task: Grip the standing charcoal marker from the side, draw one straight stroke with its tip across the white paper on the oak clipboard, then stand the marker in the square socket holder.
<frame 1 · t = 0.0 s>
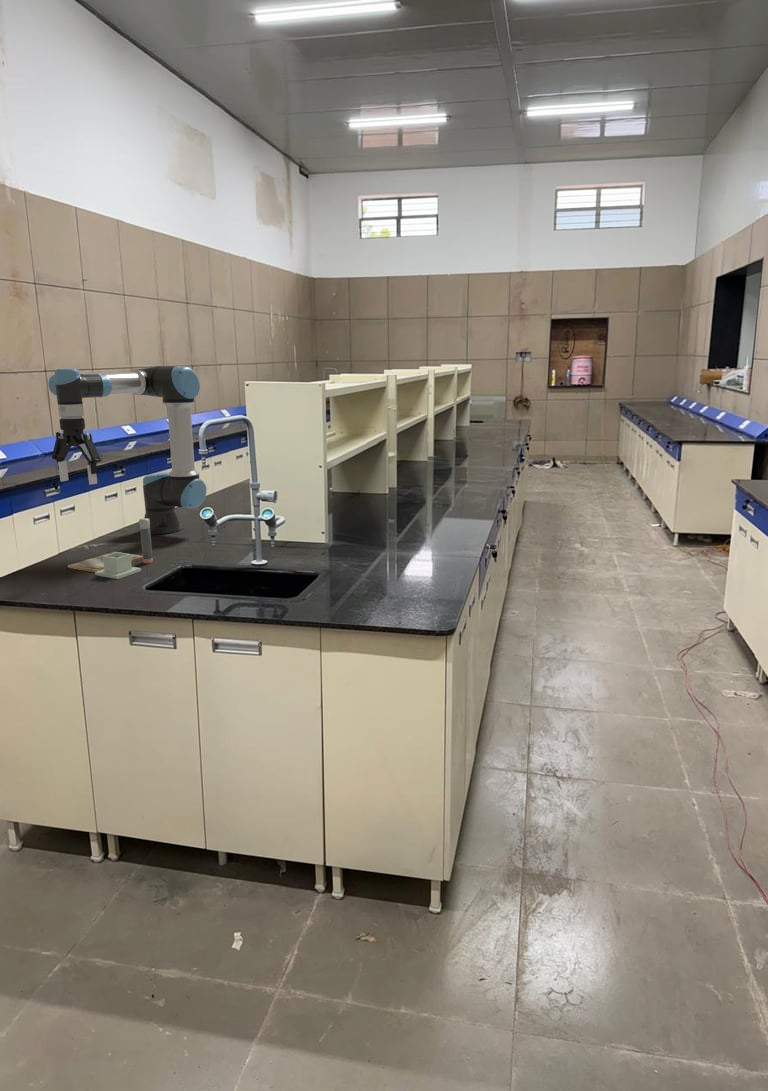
hand: (78, 482, 243), 28 cm above the counter, fingers open, 13 cm apart
marker: (147, 562, 251), on the counter
square socket holder: (118, 573, 239), on the counter
clipboard: (106, 562, 250), on the counter
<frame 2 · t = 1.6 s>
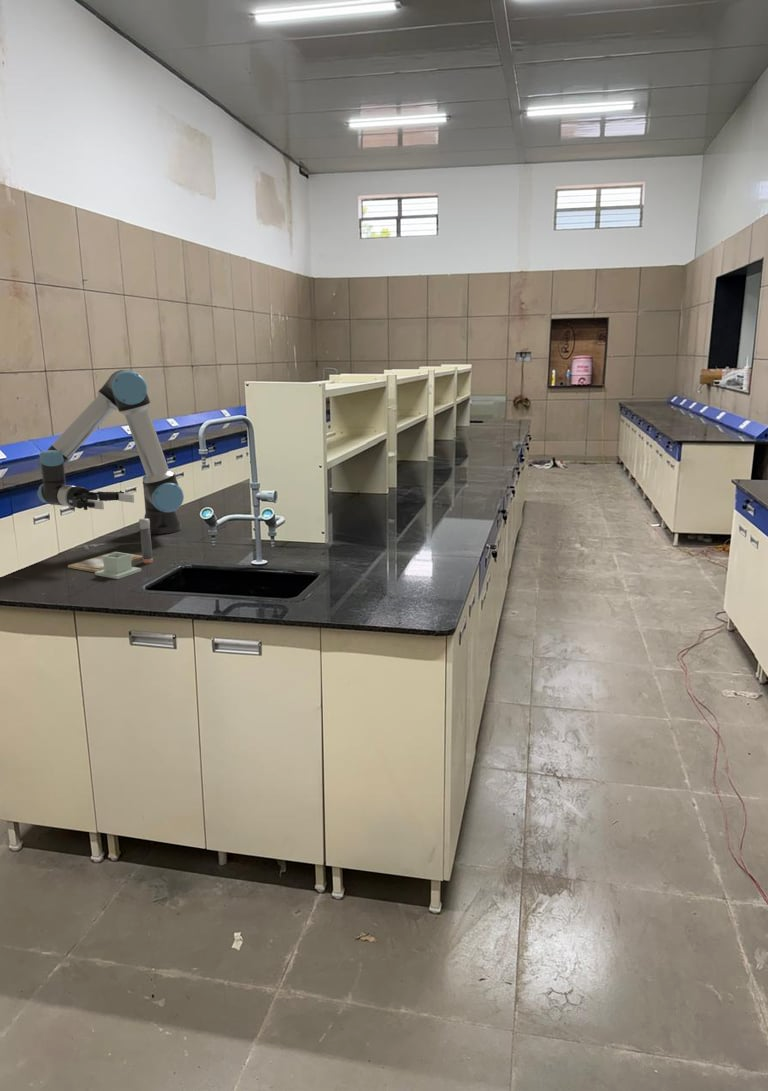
hand: (118, 501, 251), 20 cm above the counter, fingers open, 13 cm apart
nothing on the counter moved.
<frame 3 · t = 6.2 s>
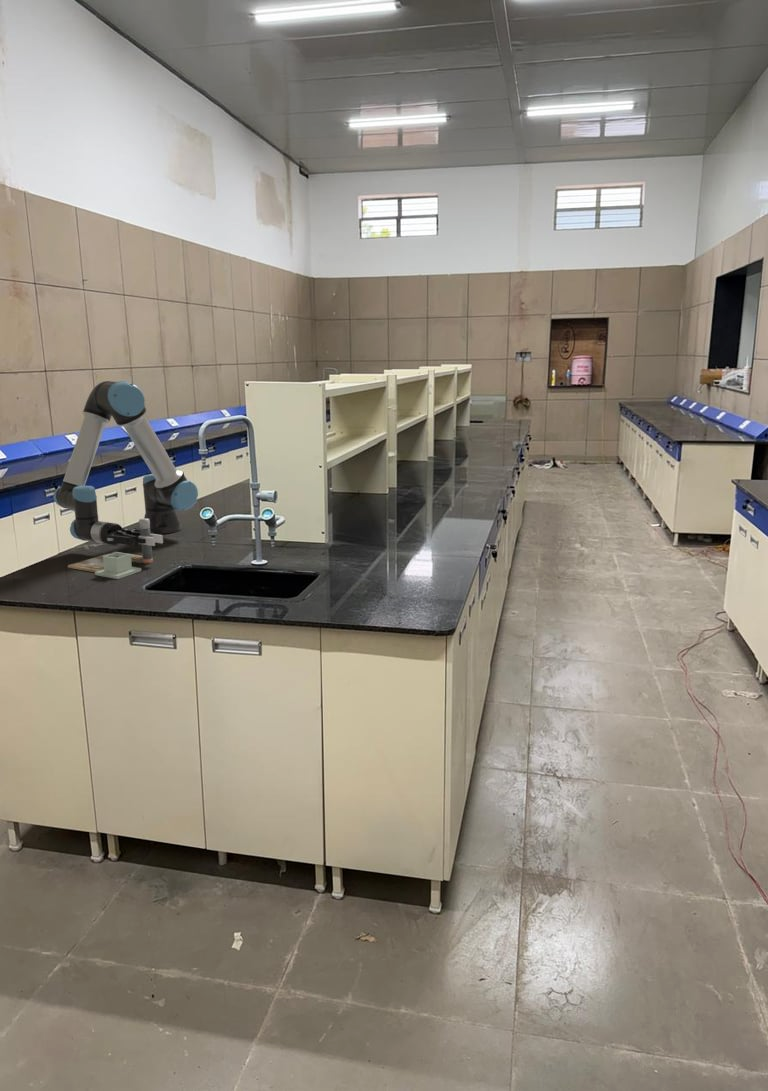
hand: (157, 540, 246), 8 cm above the counter, fingers closed on marker, 3 cm apart
marker: (147, 562, 251), on the counter, touching gripper
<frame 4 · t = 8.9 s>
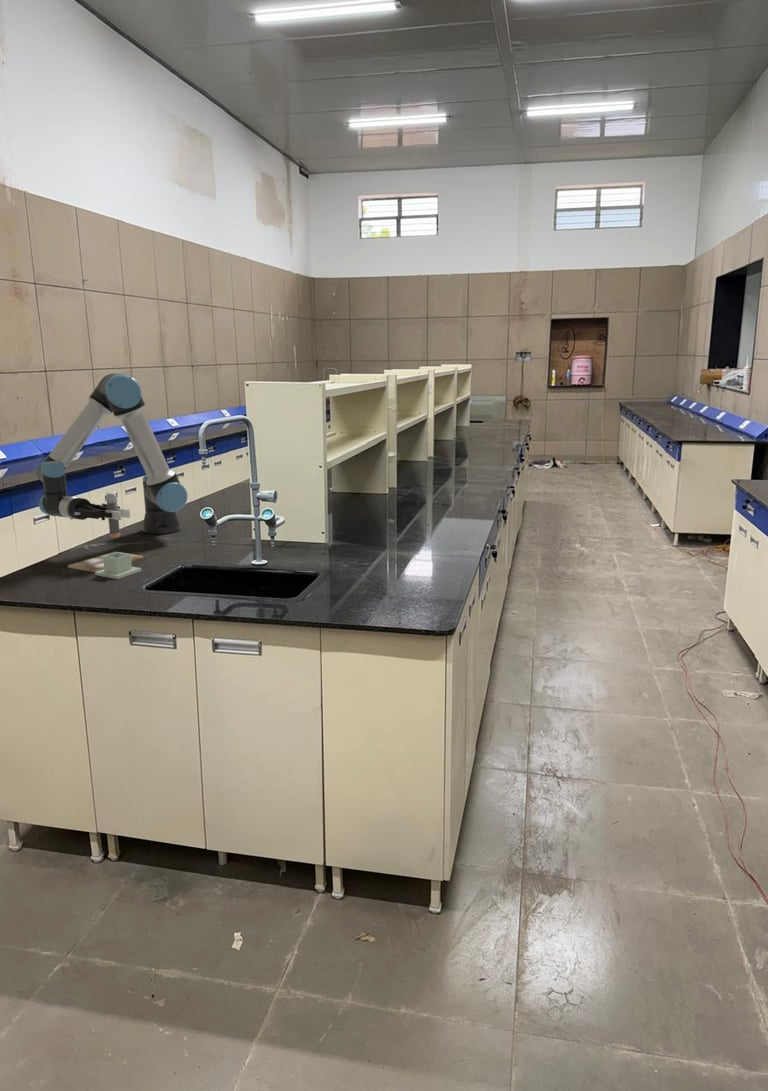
hand: (124, 514, 248), 16 cm above the counter, fingers closed on marker, 3 cm apart
marker: (115, 536, 252), point 8 cm above the counter, touching gripper
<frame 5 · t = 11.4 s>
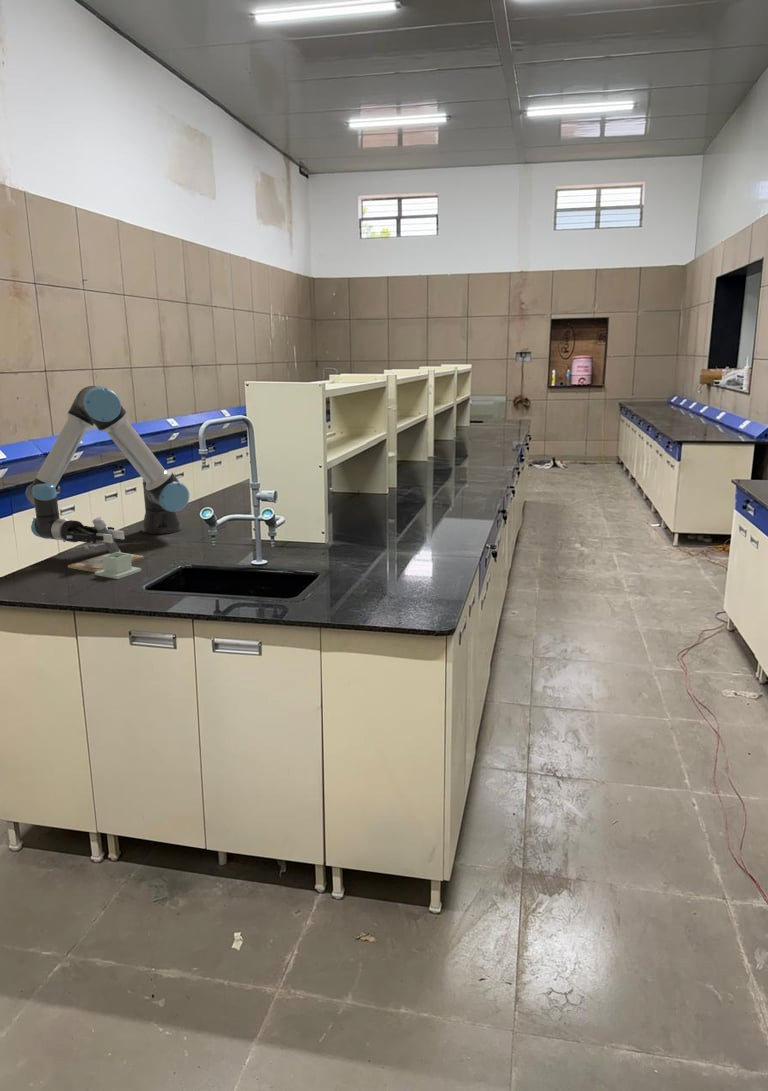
hand: (117, 537, 247), 9 cm above the counter, fingers closed on marker, 4 cm apart
marker: (116, 554, 254), point 2 cm above the counter, tilted 25°, touching clipboard, gripper
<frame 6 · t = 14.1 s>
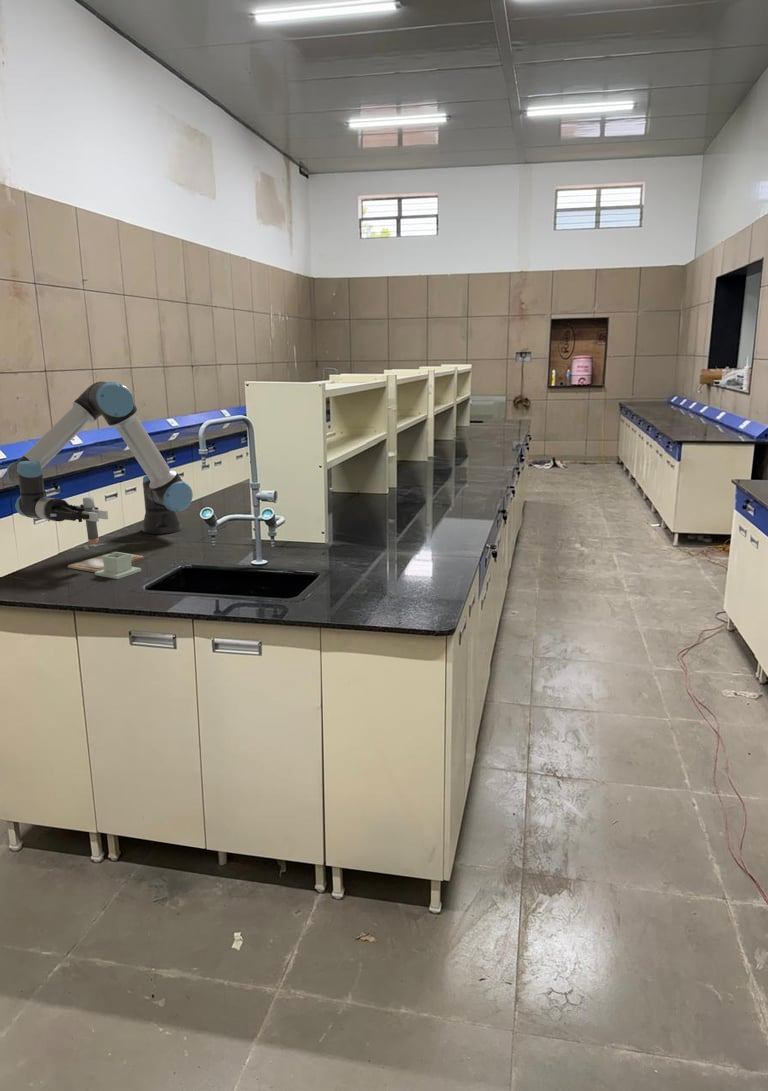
hand: (102, 516, 238), 18 cm above the counter, fingers closed on marker, 3 cm apart
marker: (93, 542, 243), point 9 cm above the counter, touching gripper
when the fingers open (11 cm above the counter, at t = 16.7 s): marker stays where it is, resting on square socket holder.
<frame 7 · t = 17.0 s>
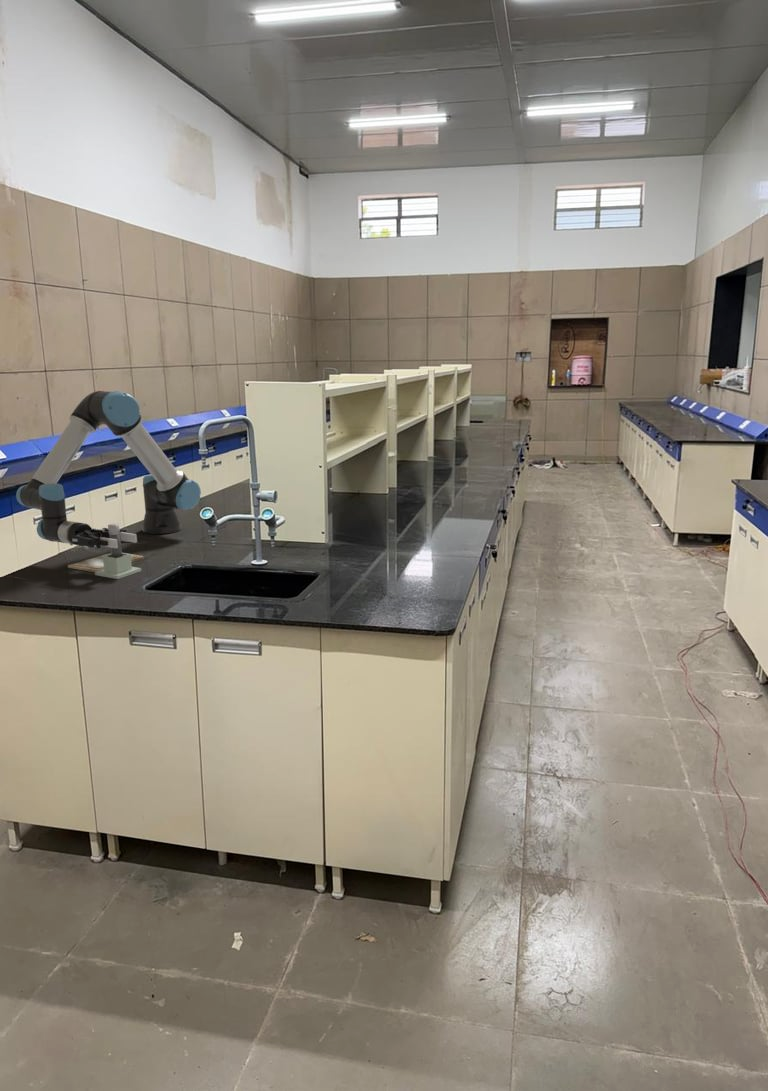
hand: (126, 541, 234), 11 cm above the counter, fingers open, 7 cm apart
marker: (118, 570, 238), point 1 cm above the counter, touching square socket holder
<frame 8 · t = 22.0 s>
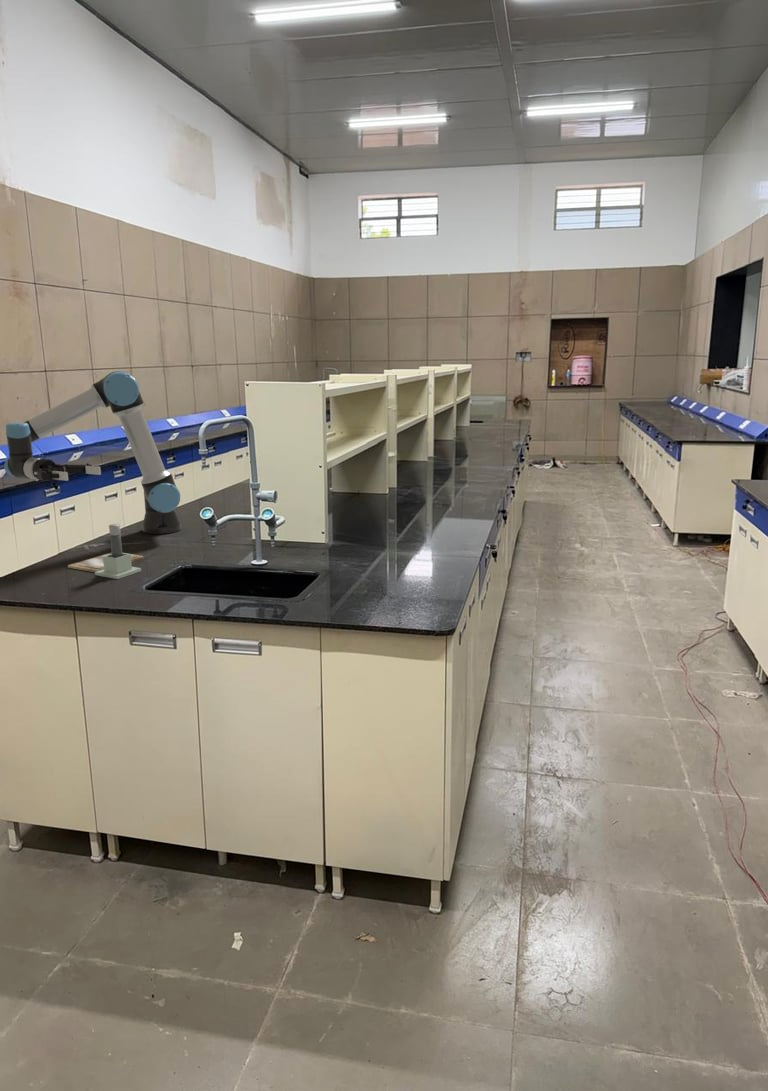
hand: (83, 473, 247), 30 cm above the counter, fingers open, 13 cm apart
nothing on the counter moved.
at the end: marker 0.2 cm off-centre on the square socket holder, point 1.0 cm above the square socket holder's base; marker tilted 0°; the gripper is holding nothing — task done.
